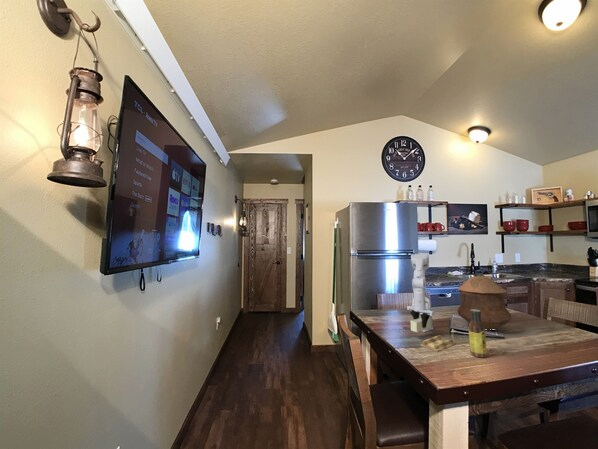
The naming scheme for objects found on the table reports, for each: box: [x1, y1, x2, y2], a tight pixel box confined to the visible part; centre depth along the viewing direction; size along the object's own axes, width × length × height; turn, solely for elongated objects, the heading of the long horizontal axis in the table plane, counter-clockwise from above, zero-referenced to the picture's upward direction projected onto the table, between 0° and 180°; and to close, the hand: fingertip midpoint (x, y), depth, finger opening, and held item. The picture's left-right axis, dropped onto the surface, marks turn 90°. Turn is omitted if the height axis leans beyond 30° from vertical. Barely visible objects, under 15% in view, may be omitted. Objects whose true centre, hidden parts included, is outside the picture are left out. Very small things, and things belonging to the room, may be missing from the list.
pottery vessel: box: [457, 275, 513, 330], centre depth 151 cm, size 26×26×30 cm
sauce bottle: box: [468, 309, 488, 358], centre depth 117 cm, size 7×6×20 cm
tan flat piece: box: [420, 335, 456, 353], centre depth 128 cm, size 15×8×2 cm, turn 121°
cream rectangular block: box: [409, 318, 431, 333], centre depth 138 cm, size 12×4×5 cm, turn 121°
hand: (420, 326), depth 138 cm, fingers closed on cream rectangular block, 3 cm apart
